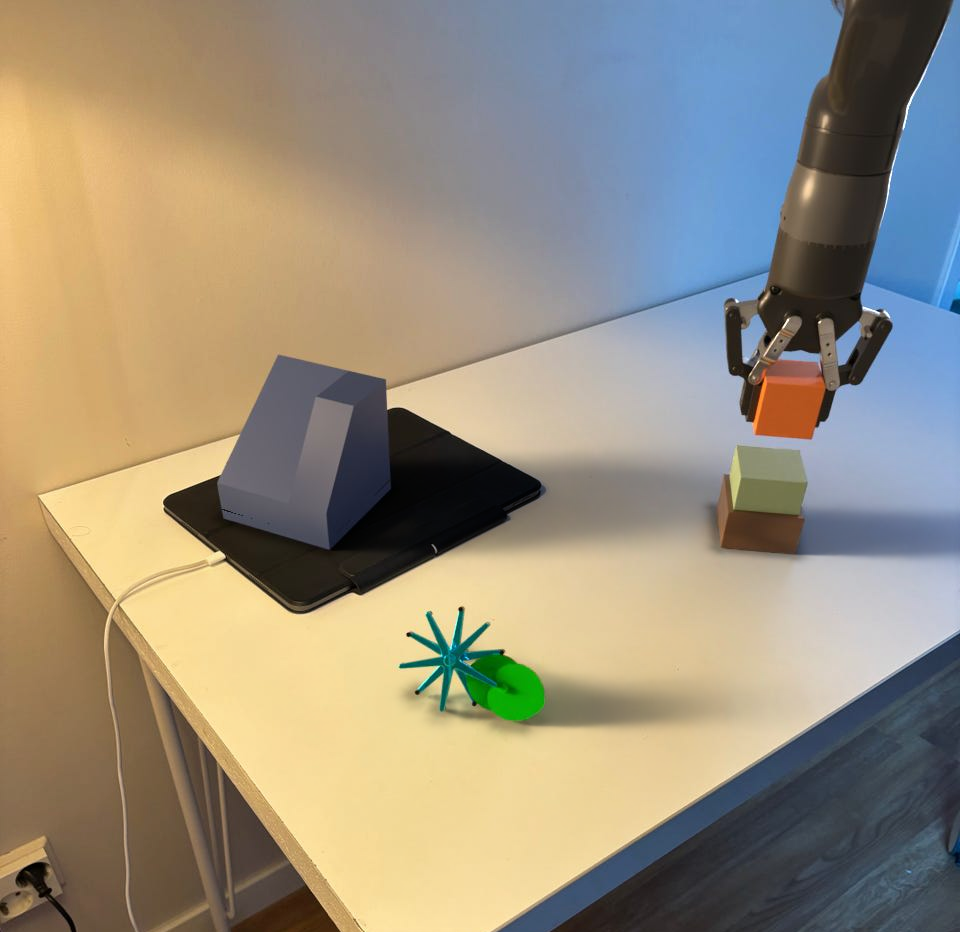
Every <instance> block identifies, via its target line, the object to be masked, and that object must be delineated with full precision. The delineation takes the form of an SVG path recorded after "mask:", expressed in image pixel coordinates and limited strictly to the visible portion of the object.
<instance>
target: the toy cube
mask: <svg viewBox="0 0 960 932" xmlns="http://www.w3.org/2000/svg"><path fill="white" fill-rule="evenodd" d="M761 382H762V390H761V394H760V399H759V403H758V407H757V412H756V416H755V420H754V422H751V424H752V429H753V435H754V436H761V437H762V436H763V437H776V438H784V439H785V438H787V439H796V440H797V439H799V440H810V441H811V440H813V438H814V433H815V429H816V428H815V426H816V423H817V419H818V415H819V412H820V408H821V404H822V401H823V397H824V393H825V390H826V386H825V383H824V379H823V376H822V373H821V366H820V363H819V362H818V361H809V360H808V361H807V360H793V359H782V358H778V360H777V361H776V363H775V364H773V365H772V366H771V367H770V369H769V370H768V372H767V373H766V375H765V376H764V378H763V379H762V381H761Z"/></svg>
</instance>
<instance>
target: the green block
mask: <svg viewBox="0 0 960 932" xmlns="http://www.w3.org/2000/svg"><path fill="white" fill-rule="evenodd" d="M729 474H730V476H729V477H730V485H731V493H732V501H733V509H734V510H742V511H754V512H766V513H778V514H789V515H799V514H800V510H801V506H802V507H803V502H804V498H805V495H806V492H807V489H808V488H807V487H808V484H809V483H808V478H807V474H806V470H805V465H804V461H803V457H802V454H801V450H800V449H792V448H791V449H790V448H778V447H765V446H754V445H753V446H752V445H739V444H736V445H735V449H734V453H733V458H732V462H731V467H730V472H729Z"/></svg>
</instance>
